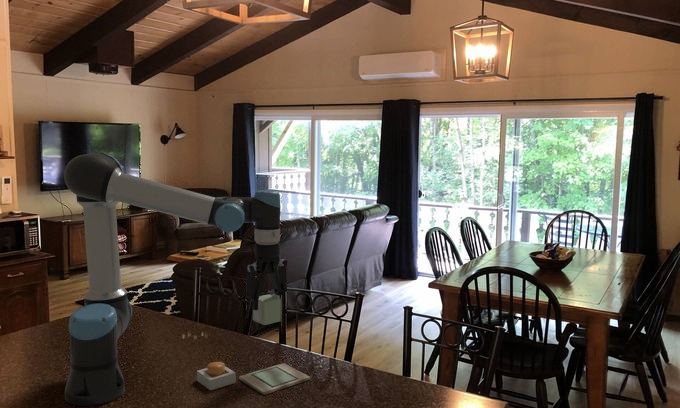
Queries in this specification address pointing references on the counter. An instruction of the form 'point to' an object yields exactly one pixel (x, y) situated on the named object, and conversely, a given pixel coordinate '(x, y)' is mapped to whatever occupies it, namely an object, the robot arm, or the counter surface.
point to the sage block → (269, 309)
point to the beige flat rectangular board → (274, 378)
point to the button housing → (216, 378)
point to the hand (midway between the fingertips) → (266, 317)
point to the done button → (216, 369)
